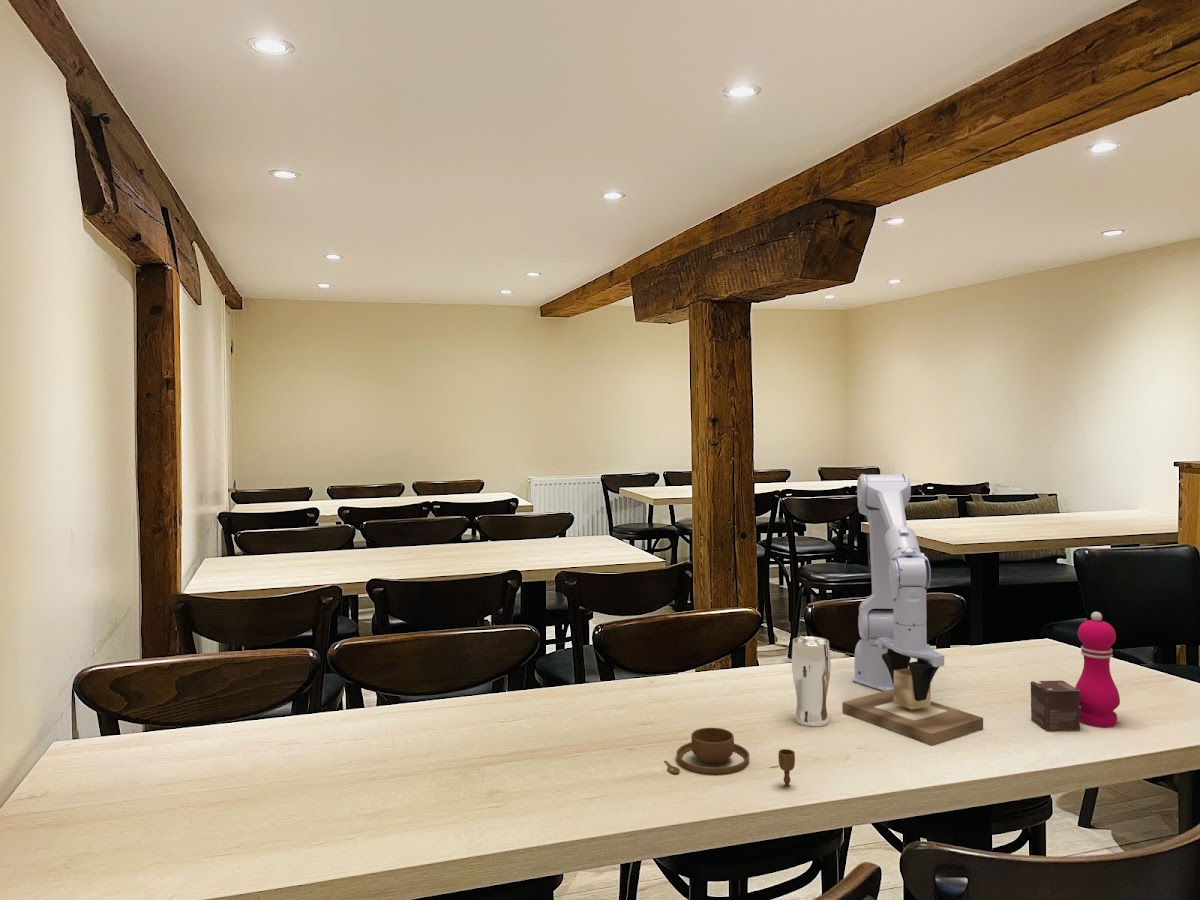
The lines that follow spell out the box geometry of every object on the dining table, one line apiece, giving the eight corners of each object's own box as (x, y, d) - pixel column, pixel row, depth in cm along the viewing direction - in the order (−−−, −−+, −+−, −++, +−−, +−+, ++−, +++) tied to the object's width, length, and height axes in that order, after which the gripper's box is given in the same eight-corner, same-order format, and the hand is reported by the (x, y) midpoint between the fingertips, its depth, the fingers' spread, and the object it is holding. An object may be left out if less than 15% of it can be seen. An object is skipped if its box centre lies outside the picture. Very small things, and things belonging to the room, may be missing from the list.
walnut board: (842, 712, 163) (842, 701, 163) (892, 699, 171) (892, 688, 171) (931, 745, 146) (931, 732, 146) (983, 728, 154) (983, 716, 153)
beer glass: (827, 714, 162) (826, 636, 162) (834, 728, 155) (833, 645, 155) (790, 714, 163) (789, 635, 163) (794, 727, 156) (793, 645, 156)
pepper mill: (1126, 729, 152) (1126, 616, 151) (1081, 727, 153) (1081, 615, 153) (1111, 715, 159) (1110, 608, 158) (1068, 713, 160) (1068, 607, 160)
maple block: (893, 702, 160) (893, 670, 160) (912, 699, 162) (912, 667, 161) (911, 709, 156) (911, 676, 155) (930, 706, 157) (930, 673, 157)
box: (1081, 731, 152) (1081, 690, 151) (1046, 732, 152) (1046, 690, 151) (1063, 719, 158) (1063, 679, 157) (1029, 720, 158) (1029, 680, 157)
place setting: (748, 744, 150) (747, 711, 150) (803, 792, 131) (802, 754, 130) (652, 756, 146) (651, 722, 145) (694, 807, 126) (694, 768, 126)
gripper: (957, 628, 153) (957, 704, 153) (898, 612, 166) (898, 682, 167) (926, 633, 150) (927, 710, 150) (869, 616, 163) (870, 687, 164)
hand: (910, 695), depth 158 cm, fingers closed on maple block, 4 cm apart
